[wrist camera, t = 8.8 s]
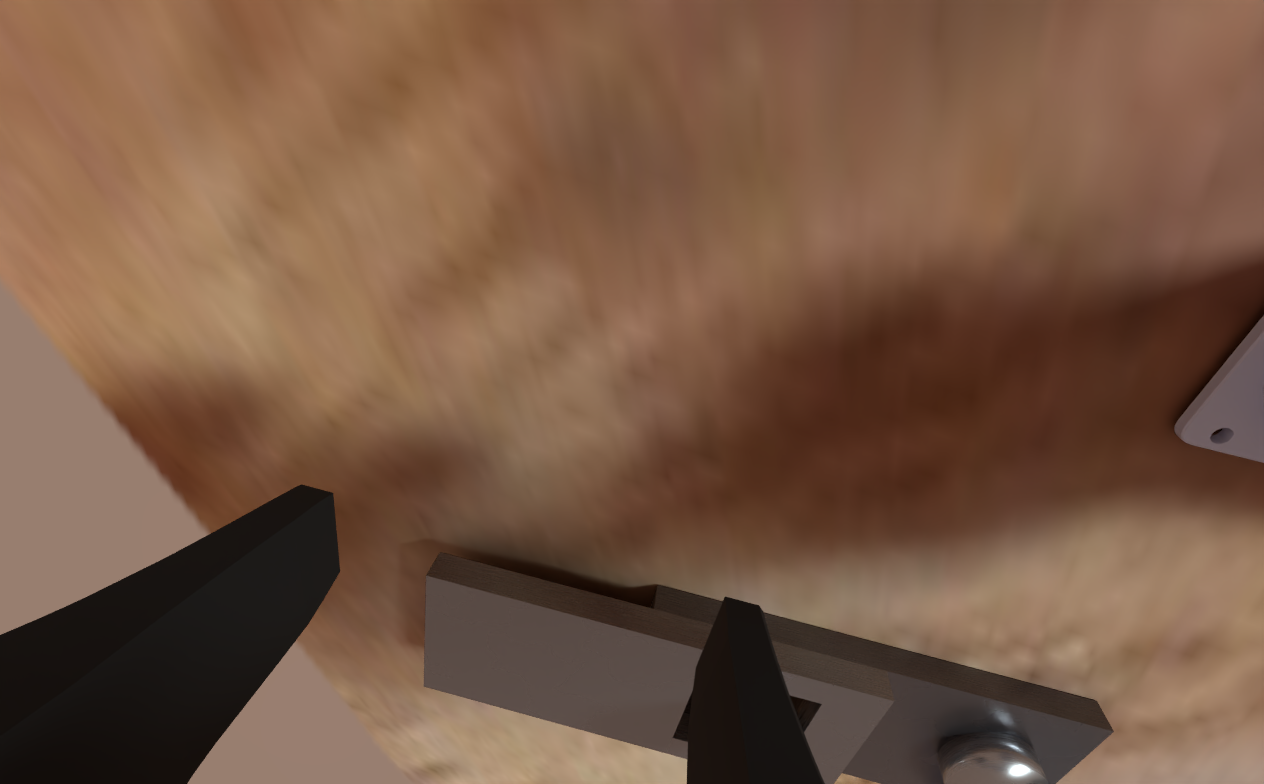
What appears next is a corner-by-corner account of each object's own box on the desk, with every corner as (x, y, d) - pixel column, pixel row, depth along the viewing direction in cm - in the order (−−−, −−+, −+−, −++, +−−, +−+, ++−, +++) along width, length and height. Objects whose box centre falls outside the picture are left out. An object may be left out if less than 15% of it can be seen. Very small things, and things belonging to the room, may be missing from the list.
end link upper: (880, 643, 23) (894, 701, 21) (817, 739, 27) (824, 796, 25) (453, 530, 24) (426, 575, 22) (447, 638, 27) (423, 686, 25)
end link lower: (1096, 701, 23) (1132, 765, 21) (1003, 790, 26) (1026, 852, 24) (657, 584, 23) (650, 635, 21) (625, 687, 27) (615, 739, 25)
